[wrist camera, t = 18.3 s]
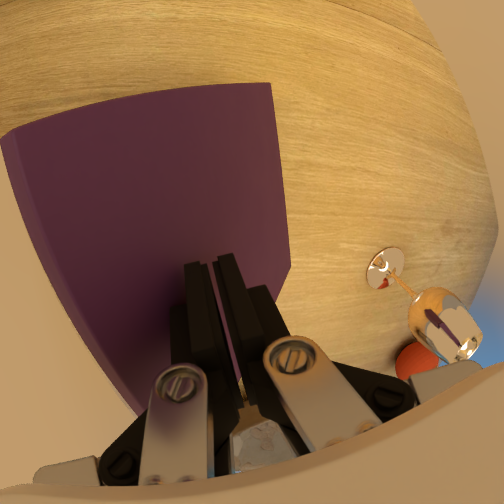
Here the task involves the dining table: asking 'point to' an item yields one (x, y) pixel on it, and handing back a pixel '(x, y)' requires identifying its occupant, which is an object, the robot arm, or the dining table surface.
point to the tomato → (415, 360)
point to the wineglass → (430, 311)
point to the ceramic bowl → (257, 441)
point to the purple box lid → (150, 212)
